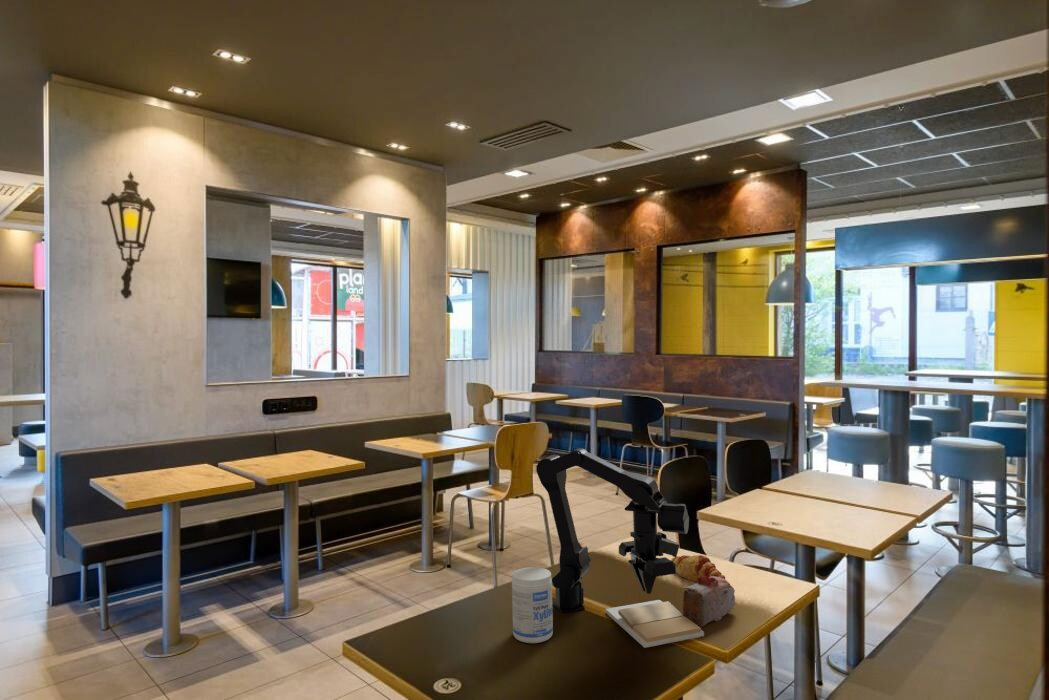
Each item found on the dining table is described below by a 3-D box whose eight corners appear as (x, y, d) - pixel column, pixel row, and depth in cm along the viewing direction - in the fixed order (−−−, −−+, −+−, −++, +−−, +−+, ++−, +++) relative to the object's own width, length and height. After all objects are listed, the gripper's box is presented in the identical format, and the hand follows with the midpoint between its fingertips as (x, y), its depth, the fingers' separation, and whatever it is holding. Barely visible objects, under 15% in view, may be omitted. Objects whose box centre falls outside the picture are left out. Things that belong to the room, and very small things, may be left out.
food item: (709, 604, 164) (708, 566, 164) (738, 613, 158) (737, 573, 158) (679, 620, 155) (678, 580, 155) (708, 630, 149) (707, 588, 149)
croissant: (665, 579, 191) (654, 558, 189) (685, 558, 196) (675, 537, 194) (718, 601, 173) (707, 578, 171) (740, 577, 177) (729, 554, 176)
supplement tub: (541, 648, 142) (539, 583, 142) (505, 639, 147) (503, 577, 147) (560, 631, 151) (558, 569, 150) (525, 623, 155) (524, 564, 155)
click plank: (631, 628, 148) (631, 624, 148) (618, 613, 155) (618, 609, 155) (683, 619, 153) (683, 615, 153) (668, 604, 159) (668, 601, 159)
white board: (644, 647, 141) (644, 638, 141) (605, 612, 160) (605, 605, 160) (704, 636, 146) (703, 627, 146) (659, 603, 165) (659, 595, 165)
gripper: (695, 535, 149) (696, 601, 149) (654, 516, 167) (656, 575, 167) (653, 541, 145) (655, 608, 145) (616, 521, 163) (618, 581, 163)
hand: (647, 592), depth 155 cm, fingers closed
